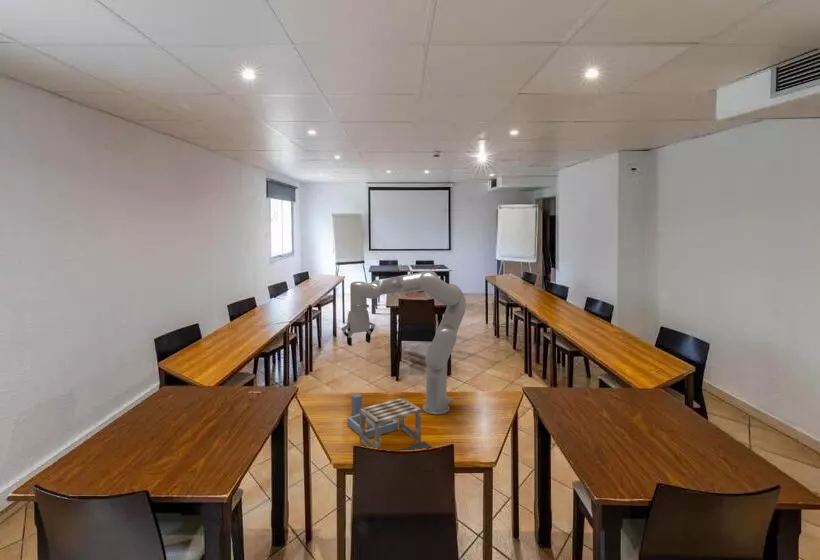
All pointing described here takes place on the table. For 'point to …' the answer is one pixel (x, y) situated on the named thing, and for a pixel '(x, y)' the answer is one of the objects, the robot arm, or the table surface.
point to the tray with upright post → (355, 418)
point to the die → (371, 424)
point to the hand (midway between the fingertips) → (358, 343)
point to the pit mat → (418, 446)
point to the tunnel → (390, 419)
